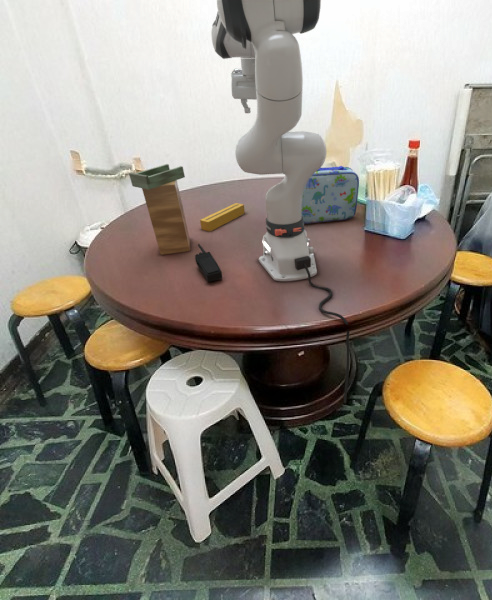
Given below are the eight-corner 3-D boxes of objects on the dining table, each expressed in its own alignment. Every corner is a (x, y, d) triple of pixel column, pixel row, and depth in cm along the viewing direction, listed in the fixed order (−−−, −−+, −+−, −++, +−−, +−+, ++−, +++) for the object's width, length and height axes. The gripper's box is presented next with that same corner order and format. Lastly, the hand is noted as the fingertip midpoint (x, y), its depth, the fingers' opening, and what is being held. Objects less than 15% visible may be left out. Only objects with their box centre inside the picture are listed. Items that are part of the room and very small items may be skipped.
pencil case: (237, 211, 155) (235, 202, 153) (244, 213, 153) (243, 204, 151) (201, 229, 140) (199, 219, 138) (210, 231, 138) (208, 221, 136)
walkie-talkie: (200, 280, 104) (182, 249, 117) (216, 288, 108) (197, 257, 121) (213, 264, 103) (192, 234, 116) (228, 273, 107) (207, 243, 120)
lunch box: (350, 211, 153) (353, 161, 141) (358, 220, 144) (363, 167, 132) (292, 217, 149) (290, 165, 137) (296, 226, 140) (295, 173, 128)
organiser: (177, 235, 136) (159, 161, 120) (204, 242, 130) (189, 166, 114) (146, 250, 125) (122, 172, 110) (173, 259, 119) (152, 177, 104)
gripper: (225, 69, 123) (230, 113, 130) (273, 68, 114) (275, 116, 122) (236, 68, 127) (241, 111, 135) (283, 68, 118) (285, 113, 126)
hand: (257, 113), depth 128 cm, fingers open, 8 cm apart
